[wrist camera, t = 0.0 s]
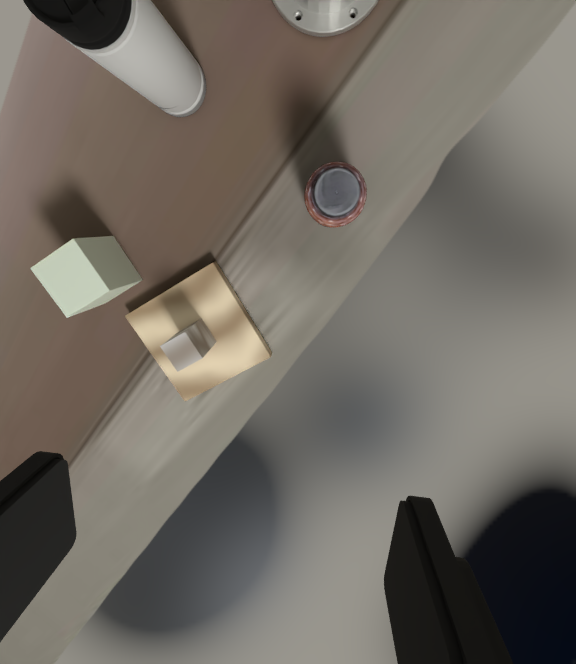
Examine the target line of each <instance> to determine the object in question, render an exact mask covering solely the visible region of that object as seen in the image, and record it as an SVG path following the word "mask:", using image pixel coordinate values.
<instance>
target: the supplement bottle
mask: <svg viewBox="0 0 576 664" xmlns="http://www.w3.org/2000/svg"><path fill="white" fill-rule="evenodd" d="M366 192H367V191H366V184H365V181H364V179H363V177H362V175H361V174H360V172H359V171H358V170H357V169H356V168H355V167H353V166H352V165H350V164H347V163H344V162H330V163H327V164H324V165H323V166H321V167H319V168H318V169H317V170H316V171H315V172H314V173H313V174H312V175H311V177H310V178H309V180H308V182H307V185H306V188H305V204H306V207H307V210H308V212H309V214H310V215H311V216H312V218H313V219H314V220H315V221H317V222H318V223H319V224H320V225H323V226H325V227H340V226H344V225H346V224H348V223H350V222H352V221H353V220H354V219H355V218H356V217H357V216H358V215H359V214H360V212H361V211H362V209H363V207H364V204H365V201H366V195H367V194H366Z"/></svg>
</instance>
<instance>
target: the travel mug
mask: <svg viewBox="0 0 576 664" xmlns="http://www.w3.org/2000/svg"><path fill="white" fill-rule="evenodd" d="M24 3H25V4H26V6H27V7H28V8H29V10H30V11H31V12H32V13H33V14H34V15H35V16H36V17H37V18H38V19H39V20H40V21H42V22H43V23H45V24H46V25H47V26H49V27H50V28H51V29H53V30H54V31H56V32H57V33H58V34H60V35H61V36H62V37H64V38H65V39H66V40H67V41H68V42H69V43H71V44H72V45H74V46H75V47H76V48H78V49H79V50H80V51H82V52H83V53H84V54H86V55H87V56H89V57H90V58H91V59H93V60H94V61H96V62H97V63H98V64H100V65H101V66H102V67H104V68H105V69H107V70H108V71H109V72H111V73H112V74H114V75H115V76H116V77H118V78H119V79H120V80H122V81H123V82H125V83H126V84H127V85H129V86H130V87H131V88H133V89H134V90H136V91H137V92H138V93H140V94H141V95H143V96H144V97H145V98H147V99H148V100H149V101H151V102H152V103H154V104H155V105H156V106H158V107H159V108H161V109H162V110H163V111H165V112H166V113H168V114H170V115H172V116H175V117H185V116H189V115H191V114H193V113H194V112H195V111H197V110H198V109H199V107H200V106H201V104H202V102H203V100H204V98H205V94H206V79H205V75H204V73H203V70H202V68H201V66H200V65H199V64H198V62H197V61H196V59H195V58H194V57H193V55H192V54H191V53H190V51H189V50H188V49H187V47H186V46H185V45H184V43H183V42H182V41H181V40H180V38H179V37H178V36H177V34H176V33H175V32H174V30H173V29H172V28H171V26H170V25H169V24H168V22H167V21H166V20H165V18H164V17H163V16H162V14H161V13H160V12H159V10H158V9H157V8H156V6H155V5H154V4H153V2H152V1H151V0H24Z"/></svg>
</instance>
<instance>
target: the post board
mask: <svg viewBox="0 0 576 664" xmlns="http://www.w3.org/2000/svg"><path fill="white" fill-rule="evenodd" d="M125 317H126V318H127V320H128V321H129V322H130V324H131V325H132V327H133V328H134V330H135V331H136V332H137V334H138V335H139V337H140V338H141V340H142V341H143V342H144V344H145V345H146V347H147V348H148V350H149V351H150V352H151V354H152V355H153V357H154V358H155V360H156V361H157V362H158V364H159V365H160V367H161V368H162V370H163V371H164V372H165V374H166V375H167V377H168V378H169V380H170V381H171V382H172V384H173V385H174V387H175V388H176V390H177V391H178V392H179V394H180V395H181V397H182V398H183V400H184V401H187V400H189V399H191V398H193V397H195V396H197V395H199V394H200V393H202V392H204V391H206V390H208V389H210V388H212V387H214V386H216V385H218V384H220V383H222V382H224V381H226V380H227V379H229V378H231V377H233V376H235V375H237V374H239V373H241V372H243V371H245V370H247V369H249V368H251V367H252V366H254V365H256V364H258V363H260V362H262V361H264V360H266V359H268V358H270V357H271V355H272V352H271V350H270V348H269V347H268V345H267V344H266V342H265V340H264V339H263V337H262V335H261V334H260V332H259V331H258V329H257V327H256V326H255V324H254V322H253V321H252V319H251V318H250V316H249V314H248V313H247V311H246V309H245V308H244V306H243V304H242V303H241V301H240V300H239V298H238V296H237V295H236V293H235V291H234V290H233V288H232V287H231V285H230V283H229V282H228V280H227V278H226V277H225V275H224V273H223V272H222V270H221V269H220V267H219V265H218V264H217V262H216V261H215V262H213V263H211V264H209V265H208V266H206V267H205V268H203V269H201V270H200V271H198V272H196V273H195V274H193V275H191V276H190V277H188V278H187V279H185V280H183V281H182V282H180V283H178V284H177V285H175V286H173V287H172V288H170V289H168V290H167V291H165V292H164V293H162V294H160V295H159V296H157V297H155V298H154V299H152V300H150V301H149V302H147V303H146V304H144V305H142V306H141V307H139V308H137V309H136V310H134V311H132V312H131V313H129V314H127V315H126V316H125Z"/></svg>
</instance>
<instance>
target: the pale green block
mask: <svg viewBox="0 0 576 664" xmlns="http://www.w3.org/2000/svg"><path fill="white" fill-rule="evenodd" d="M30 269H31V270H32V271H33V273H34V274H35V275H36V277H37V278H38V279H39V281H40V282H41V283H42V285H43V286H44V287H45V289H46V290H47V291H48V293H49V294H50V296H51V297H52V298H53V300H54V301H55V302H56V304H57V305H58V306H59V308H60V309H61V310H62V312H63V313H64V314H65V316H66V317H67V318H68V317H71V316H73V315H76V314H78V313H81V312H84V311H86V310H89V309H92V308H94V307H97V306H100V305H102V304H105V303H107V302H108V301H110V300H112V299H113V298H115V297H116V296H118V295H120V294H121V293H123V292H124V291H126V290H128V289H129V288H131V287H132V286H134V285H135V284H137V283H139V282H140V281H142V280H143V279H142V278H141V276H140V275H139V273H138V272H137V270H136V269H135V267H134V266H133V264H132V263H131V262H130V260H129V259H128V257H127V256H126V254H125V253H124V251H123V250H122V248H121V247H120V245H119V244H118V242H117V241H116V239H115V238H114V236H104V237H88V238H73V239H72V240H70V241H69V242H67V243H66V244H65V245H63V246H62V247H60V248H59V249H57V250H56V251H55V252H53V253H52V254H50V255H49V256H47V257H46V258H45V259H43V260H42V261H40V262H39V263H37V264H36V265H34V266H33V267H32V268H30Z"/></svg>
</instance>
